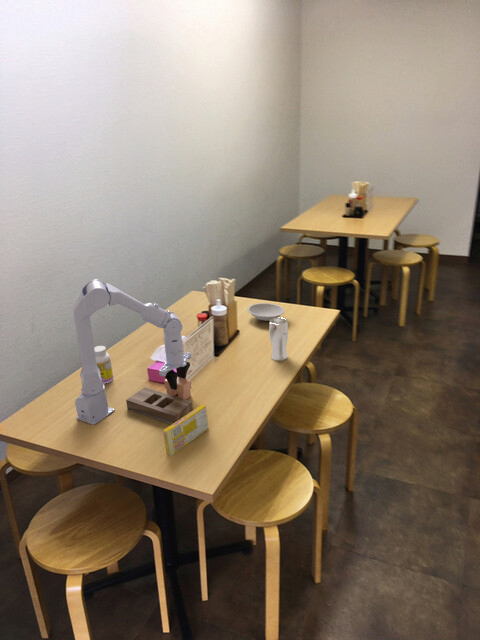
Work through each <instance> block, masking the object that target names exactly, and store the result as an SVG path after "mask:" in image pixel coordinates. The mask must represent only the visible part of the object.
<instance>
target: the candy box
mask: <svg viewBox="0 0 480 640" xmlns="http://www.w3.org/2000/svg"><path fill="white" fill-rule="evenodd" d="M209 429H210V428H209V420H208V414H207V406H206V405H204V404H201V405H199V406H197V407H196V408H195V409H194V408H193V411H191V412H190V413H188V414H187V415H185V416H184V417H182V418H181V419H179V420H178V421H176V422H175V423H173V424H170V425H169V426H167V427H166V428H164V429H162V432H163V440H164V445H165V452H166V455H168V456H169V457H172V456H173V455H174V454H175V453H177V452H179V451H180V450H181V449H183V448H184V447H185V446H187V445H188V444H190V443H191V442H193V441H194V440H195V439H197V438H198V437H200V436H202V434H204V433H205V432H207V431H208V430H209Z"/></svg>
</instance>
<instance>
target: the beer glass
mask: <svg viewBox="0 0 480 640" xmlns="http://www.w3.org/2000/svg"><path fill="white" fill-rule="evenodd" d="M268 326H269V329H268V330H269V331H268V333H269V339H270V343H271V344H270V345H271V357H270V358H271V359H272V360H274V361H275V362H281V361H285V360H287V359H288V352H287V345H288V338H289V324H288V319H286V318H284V317H278V318H273V319H271V320H270V321H269V325H268Z"/></svg>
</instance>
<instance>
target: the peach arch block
mask: <svg viewBox="0 0 480 640" xmlns="http://www.w3.org/2000/svg"><path fill="white" fill-rule="evenodd" d="M164 388H165V390H166V394H169V395H172V396H175V397H176V395H178V398H182V399H185V400H188V398H190V397H191V396H192V393H191V389H192V381H191V379H187V378H186V379H184V378H180V377H177V389H176V390H173V389H171V388H170V385H169V383H168V381H167V379H166V378H165V379H164Z"/></svg>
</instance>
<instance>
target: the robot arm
mask: <svg viewBox="0 0 480 640" xmlns="http://www.w3.org/2000/svg"><path fill="white" fill-rule="evenodd" d="M116 305H120V306H121V307H124V308H127V309H129V310H132V311H134V312H135V313H138V314H140V318H141V320H144V321H145V322H146V323H149V324H152V325H153V326H155V327H156V328H159V329H163V330H162V331H163V342H164V350H165V351H164V352H165V359H166V361H165V363H164V364H163V365H162V366H161V368H160V369H158V373H159V376H161V377H165V380H166V379H167V381H168V383H169V385H170V388H171V389H173V390H176V389H177V377H180V378H184V379H187V374H188V370H189V368H190V366H191V363H190V361H189V362H188V361H187V360H191V359H192V353H191V352H189V351H186V352H187V353H186V354H185V355H183V354H184V348H183V347H184V346H183V336H182V330H183V324H182V322H181V320H180V318H179V317H178V315H177V314H175V312H174V311H170V310H165V309H164V308H161V307H160V306H159V304H158V303H156V302H154V304H153V303H152V302H147V303H143V302H142V301H140V300H138V299H136V298H135V297H133V296H132V295H129V294H128V293H125V291H122V290H121V289H119V288H117V287H115V286H114V285H112V284H110V283H108V282H104V281H102V279H101V280H100V279H94V278H93V279H91V280H89V281H88V282H87V283H85V284H84V286H82V288H81V291H80V294H79V296H78V297H77V300H76V302H75V304H74V306H73V308H72V311H73V317H74V325H75V331H76V337H77V343H78V349H79V355H80V362H81V370H80V374H79V376H80V378H81V389H80V390H81V392H80V394H79V396H78V397H77V398H76V399H75V402H74V403H75V408H76V414H77V415H76V416H75V417H76V419H77V420H80V421H82V422H85V423H87V424H89V425H93V426H94V425H96V424H97V423H99V422H101V420H103V419H105V418H106V417H107V416H109V415H110V414H112V413H114V412H115V408H112V407H109V404H108V397H107V392H106V387H105V384H103V382H102V379H101V375H100V374H101V373H100V369H99V368H98V367H97V363H96V356H95V349H94V347H95V344H94V337H93V330H92V324H91V316H93V314H95V313H97V312H98V311H100V310H102V309H104V308H105V307H106V306H109V307H113V306H116Z"/></svg>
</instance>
